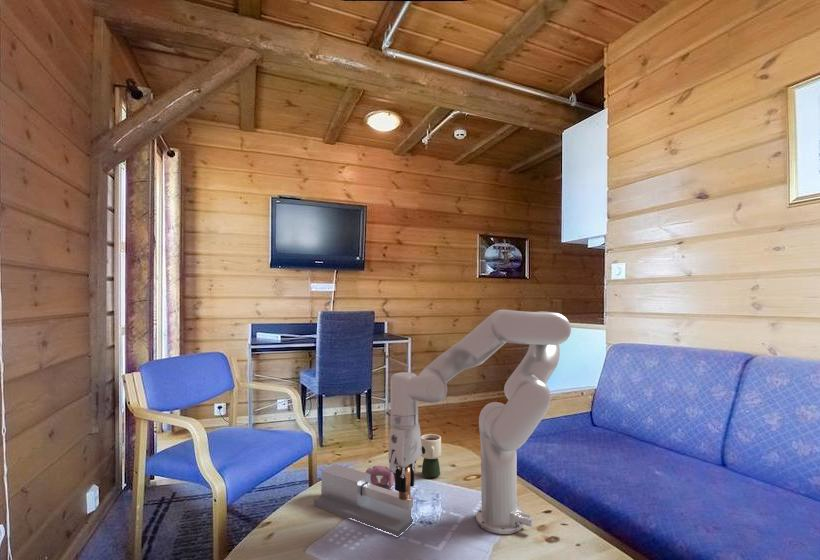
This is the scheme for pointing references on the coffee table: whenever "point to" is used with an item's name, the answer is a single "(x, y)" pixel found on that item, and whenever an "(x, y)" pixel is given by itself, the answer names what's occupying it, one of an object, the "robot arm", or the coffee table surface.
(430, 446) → the character mug
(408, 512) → the base board
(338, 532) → the coffee table surface
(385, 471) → the video game controller
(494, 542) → the coffee table surface
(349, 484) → the block
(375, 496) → the shaft
